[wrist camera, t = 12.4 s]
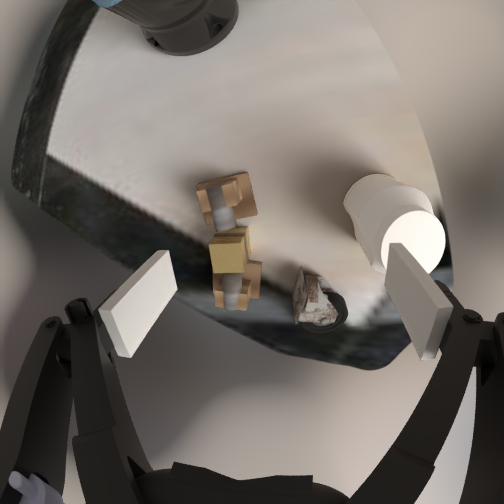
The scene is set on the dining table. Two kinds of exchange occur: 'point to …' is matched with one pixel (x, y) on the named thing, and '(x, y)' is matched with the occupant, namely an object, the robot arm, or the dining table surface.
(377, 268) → the jar
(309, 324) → the caster wheel
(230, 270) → the block
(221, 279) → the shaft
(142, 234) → the dining table surface
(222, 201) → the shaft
